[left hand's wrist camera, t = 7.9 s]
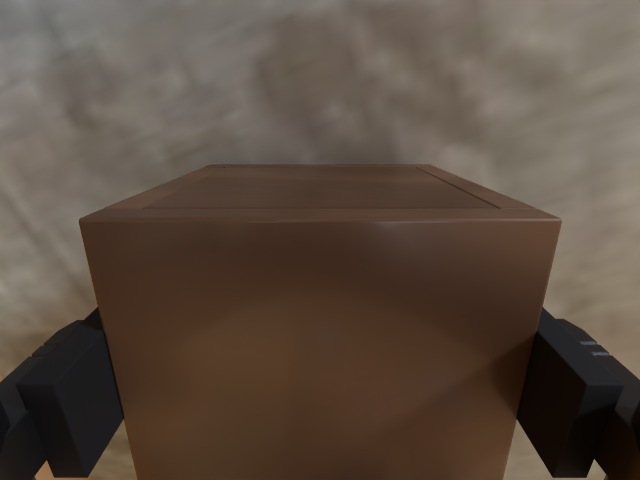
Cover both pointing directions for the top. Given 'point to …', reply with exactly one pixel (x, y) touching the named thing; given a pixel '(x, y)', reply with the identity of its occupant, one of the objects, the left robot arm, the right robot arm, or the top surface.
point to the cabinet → (320, 321)
